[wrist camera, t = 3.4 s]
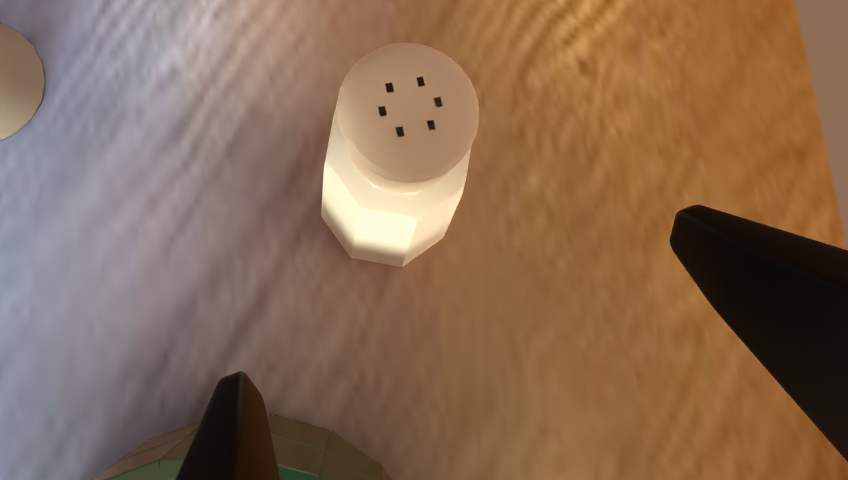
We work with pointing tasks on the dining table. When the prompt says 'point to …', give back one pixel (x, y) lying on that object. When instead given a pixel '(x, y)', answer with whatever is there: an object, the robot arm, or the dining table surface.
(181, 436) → the bowl
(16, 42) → the chalice
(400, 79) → the pepper shaker
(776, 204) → the dining table surface
